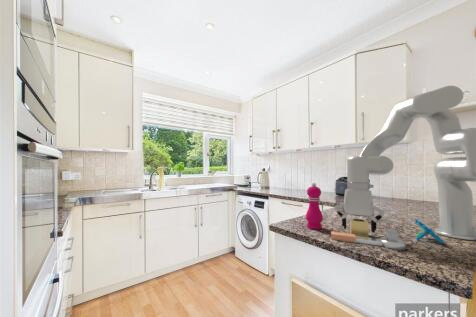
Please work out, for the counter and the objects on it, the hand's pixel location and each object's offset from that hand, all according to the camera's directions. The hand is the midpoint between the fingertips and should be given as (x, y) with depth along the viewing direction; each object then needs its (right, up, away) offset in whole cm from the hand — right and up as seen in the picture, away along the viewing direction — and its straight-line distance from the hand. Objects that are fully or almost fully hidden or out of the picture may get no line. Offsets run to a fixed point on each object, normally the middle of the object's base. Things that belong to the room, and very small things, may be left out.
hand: (358, 229), depth 80 cm
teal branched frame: (+23, -2, -5) cm, 24 cm away
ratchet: (-2, -2, -8) cm, 8 cm away
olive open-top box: (0, -2, 0) cm, 2 cm away
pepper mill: (-14, -3, +10) cm, 17 cm away
